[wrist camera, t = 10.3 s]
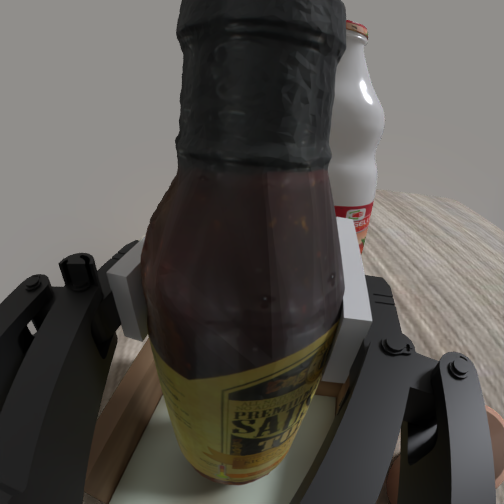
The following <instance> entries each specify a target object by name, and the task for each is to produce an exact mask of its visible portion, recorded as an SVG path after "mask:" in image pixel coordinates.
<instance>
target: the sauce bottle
mask: <svg viewBox="0 0 504 504" xmlns="http://www.w3.org/2000/svg"><path fill="white" fill-rule="evenodd" d="M176 35H177V39H178V41H179V43H180V46H181V50H182V52H183V55H184V56H183V59H184V60H183V73H182V89H181V93H180V104H181V113H180V119H179V126H180V131H179V134H178V136H177V137H176V140H175V143H176V150H177V158H178V171H177V175H176V176H175V178H174V179H173V181H172V183H171V185H170V187H169V189H168V191H167V192H166V193H165V195H164V196H163V198H162V200H161V202H160V203H159V204H158V206H157V209H156V210H155V212H154V213H153V215H152V217H151V219H150V224H149V226H148V228H147V232H146V236H145V240H144V244H143V248H142V253H141V276H142V287H143V292H144V296H145V300H146V304H147V309H148V317H147V330H148V335H149V340H150V344H151V349H152V353H153V358H154V362H155V366H156V370H157V374H158V378H159V381H160V385H161V389H162V392H163V396H164V399H165V403H166V407H167V410H168V414H169V417H170V420H171V423H172V426H173V430H174V433H175V436H176V439H177V442H178V445H179V447H180V449H181V452H182V453H183V455H184V456H185V458H186V459H187V461H189V463H190V464H191V466H192V467H193V468H194V469H195V470H196V471H197V472H198V473H199V474H200V475H201V476H203V477H205V478H207V479H208V480H211V481H213V482H216V483H220V484H225V485H227V484H228V485H245V484H248V483H251V482H254V481H256V480H258V479H260V478H262V477H264V476H266V475H268V474H269V473H270V472H271V471H272V470H273V469H275V468H276V467H277V466H278V465H279V464H280V463H281V462H282V460H283V459H284V458H285V456H286V454H287V453H288V451H289V449H290V447H291V444H292V442H293V440H294V438H295V436H296V434H297V432H298V429H299V427H300V425H301V423H302V420H303V418H304V416H305V414H306V412H307V410H308V407H309V405H310V402H311V400H312V398H313V396H314V394H315V391H316V389H317V386H318V383H319V381H320V378H321V375H322V370H323V367H324V365H325V362H326V359H327V357H328V354H329V351H330V348H331V346H332V342H333V339H334V336H335V333H336V330H337V327H338V324H339V321H340V317H341V311H342V302H343V296H344V292H345V283H344V273H343V265H342V257H341V249H340V241H339V234H338V227H337V220H336V214H335V208H334V202H333V196H332V190H331V185H330V179H329V174H328V166H329V162H330V160H331V158H332V152H331V149H330V146H329V137H330V130H331V118H332V109H333V104H334V98H335V76H336V69H337V65H338V64H339V62H340V60H341V57H342V56H343V54H344V52H345V50H346V10H345V6H344V3H343V2H342V1H341V0H182V3H181V7H180V14H179V18H178V24H177V31H176Z"/></svg>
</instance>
